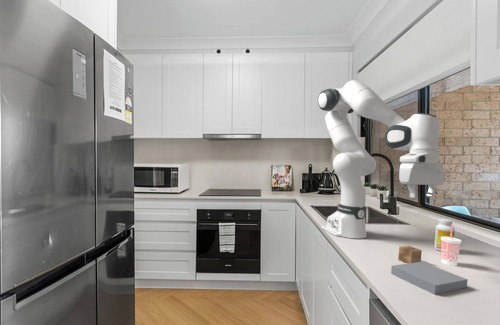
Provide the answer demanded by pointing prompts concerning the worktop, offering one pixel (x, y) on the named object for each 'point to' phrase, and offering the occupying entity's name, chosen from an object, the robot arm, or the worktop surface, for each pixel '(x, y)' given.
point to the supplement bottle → (442, 232)
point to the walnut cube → (409, 254)
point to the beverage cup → (450, 249)
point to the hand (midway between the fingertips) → (421, 197)
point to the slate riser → (429, 277)
